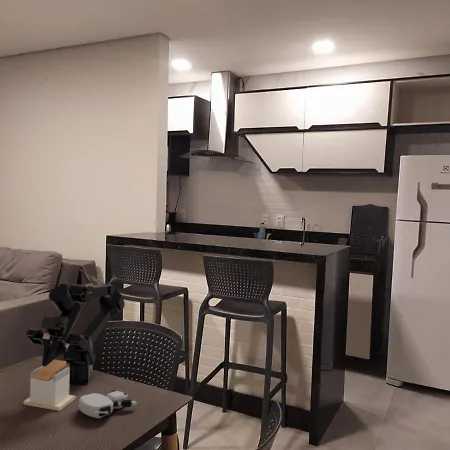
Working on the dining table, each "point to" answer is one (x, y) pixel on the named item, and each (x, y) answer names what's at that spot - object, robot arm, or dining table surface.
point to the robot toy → (103, 403)
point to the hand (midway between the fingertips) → (43, 365)
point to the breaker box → (50, 391)
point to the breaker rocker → (50, 370)
